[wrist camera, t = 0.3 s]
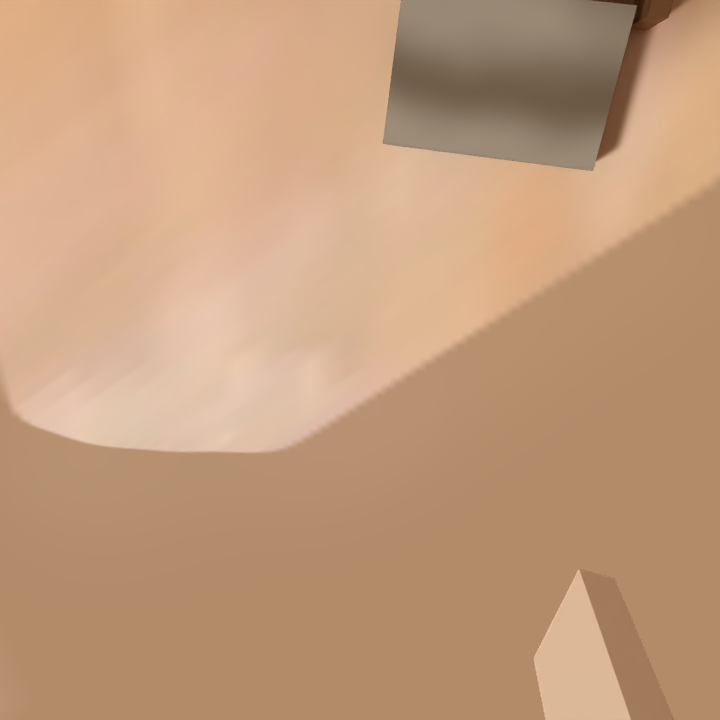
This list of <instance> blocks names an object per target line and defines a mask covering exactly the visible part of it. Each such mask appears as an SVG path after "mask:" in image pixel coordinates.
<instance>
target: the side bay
mask: <svg viewBox="0 0 720 720" xmlns="http://www.w3.org/2000/svg"><path fill="white" fill-rule="evenodd" d="M672 3H673V0H635V3H634V5H629V4H620V3H611V2H601V1H592V0H401V4H400V12H399V20H398V28H397V36H396V44H395V52H394V60H393V68H392V76H391V84H390V91H389V99H388V107H387V115H386V123H385V131H384V139H383V144H388V145H396V146H403V147H411V148H419V149H427V150H434V151H442V152H450V153H458V154H465V155H473V156H481V157H489V158H496V159H504V160H512V161H520V162H527V163H535V164H543V165H551V166H558V167H566V168H574V169H582V170H591V171H593V170H594V166H595V162H596V158H597V155H598V151H599V147H600V143H601V140H602V136H603V132H604V128H605V125H606V121H607V117H608V113H609V109H610V106H611V102H612V98H613V94H614V91H615V87H616V83H617V79H618V76H619V72H620V68H621V64H622V61H623V57H624V53H625V49H626V46H627V42H628V38H629V34H630V31H631V29H638V30H648V29H650V28H651V27H653V26H655V25H656V24H658V23H660V22H662V21H663V20H665V19H667V18H668V17H669V13H670V10H671V6H672Z"/></svg>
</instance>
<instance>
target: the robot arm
mask: <svg viewBox="0 0 720 720" xmlns="http://www.w3.org/2000/svg"><path fill="white" fill-rule="evenodd" d="M534 663H535V668H536V673H537V678H538V684H539V689H540V694H541V699H542V704H543V709H544V714H545V720H674V719H673V716H672V714H671V712H670V709H669V707H668V704H667V702H666V700H665V697H664V695H663V692H662V690H661V688H660V685H659V683H658V681H657V678H656V676H655V673H654V671H653V669H652V666H651V664H650V661H649V659H648V657H647V655H646V652H645V650H644V647H643V645H642V642H641V640H640V638H639V635H638V633H637V631H636V628H635V626H634V624H633V621H632V619H631V616H630V614H629V612H628V609H627V607H626V604H625V602H624V600H623V597H622V595H621V592H620V590H619V588H618V585H617V583H616V581H615V579H614V578H610V577H607V576H603V575H599V574H596V573H593V572H589V571H585V570H582V569H579V570H578V572H577V574H576V576H575V578H574V580H573V582H572V584H571V586H570V588H569V590H568V592H567V593H566V596H565V597H564V599H563V601H562V603H561V605H560V607H559V609H558V611H557V613H556V615H555V617H554V619H553V621H552V623H551V625H550V627H549V629H548V631H547V633H546V635H545V637H544V639H543V641H542V643H541V645H540V647H539V649H538V651H537V653H536V655H535V657H534Z"/></svg>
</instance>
